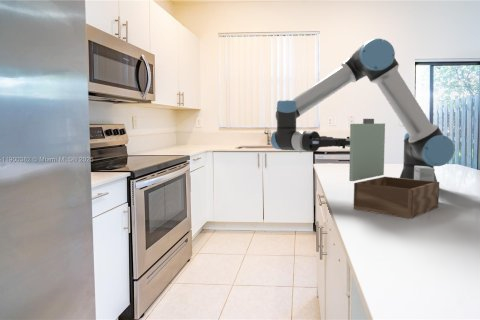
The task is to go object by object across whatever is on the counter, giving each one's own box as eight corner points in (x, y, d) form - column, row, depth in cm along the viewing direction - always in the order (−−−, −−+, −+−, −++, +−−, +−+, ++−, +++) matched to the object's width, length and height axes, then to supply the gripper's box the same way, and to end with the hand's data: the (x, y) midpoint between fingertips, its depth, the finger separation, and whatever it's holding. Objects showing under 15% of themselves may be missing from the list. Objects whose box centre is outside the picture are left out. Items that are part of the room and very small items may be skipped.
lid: (383, 175, 139) (380, 174, 140) (385, 118, 138) (381, 118, 138) (352, 181, 125) (349, 180, 126) (353, 118, 123) (350, 118, 124)
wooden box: (384, 199, 140) (385, 176, 139) (438, 207, 127) (439, 181, 126) (353, 208, 125) (354, 183, 124) (410, 218, 112) (412, 189, 112)
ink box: (433, 203, 134) (435, 168, 133) (418, 202, 135) (419, 168, 134) (427, 198, 142) (428, 165, 141) (412, 197, 143) (414, 165, 142)
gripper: (316, 150, 153) (374, 153, 136) (295, 152, 144) (354, 155, 127) (317, 130, 153) (374, 131, 136) (295, 131, 143) (354, 132, 127)
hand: (364, 143), depth 131 cm, fingers closed
